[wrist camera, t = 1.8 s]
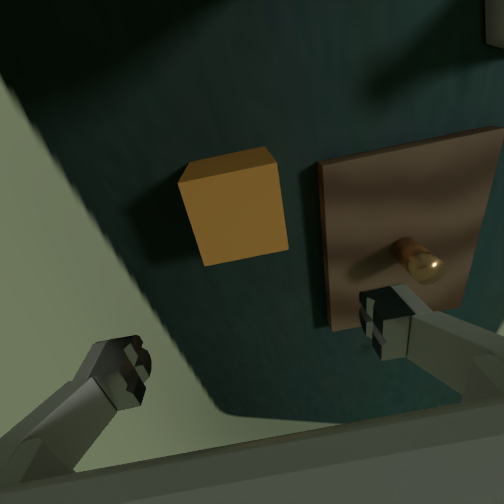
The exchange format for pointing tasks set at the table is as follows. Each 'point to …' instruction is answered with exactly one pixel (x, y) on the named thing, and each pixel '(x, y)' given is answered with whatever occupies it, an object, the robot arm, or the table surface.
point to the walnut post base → (405, 219)
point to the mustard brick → (235, 205)
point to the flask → (494, 22)
